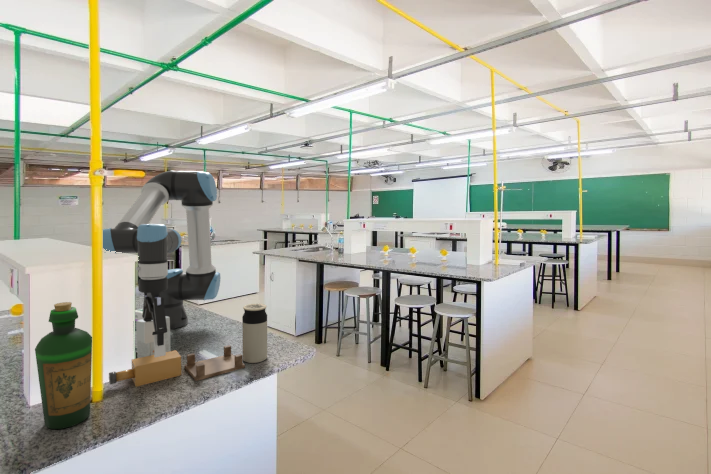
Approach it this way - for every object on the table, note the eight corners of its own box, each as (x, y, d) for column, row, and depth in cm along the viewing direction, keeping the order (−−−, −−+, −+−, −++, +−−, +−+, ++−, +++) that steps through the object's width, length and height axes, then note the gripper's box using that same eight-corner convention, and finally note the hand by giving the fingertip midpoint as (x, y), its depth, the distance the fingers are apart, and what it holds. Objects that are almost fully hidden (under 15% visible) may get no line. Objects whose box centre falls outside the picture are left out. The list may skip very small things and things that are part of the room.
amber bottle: (176, 368, 117) (175, 350, 117) (181, 375, 113) (181, 356, 112) (108, 385, 106) (107, 364, 105) (111, 393, 101) (110, 372, 101)
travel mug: (258, 365, 120) (258, 310, 119) (237, 361, 123) (237, 307, 122) (271, 356, 128) (271, 304, 126) (252, 352, 130) (252, 302, 129)
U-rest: (195, 381, 109) (195, 367, 108) (184, 367, 117) (184, 354, 117) (244, 367, 118) (244, 354, 118) (231, 356, 127) (231, 344, 127)
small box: (157, 350, 131) (156, 314, 130) (171, 353, 128) (170, 316, 127) (136, 359, 123) (135, 320, 122) (150, 362, 121) (149, 323, 120)
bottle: (65, 436, 82) (59, 312, 80) (26, 430, 84) (19, 308, 82) (106, 411, 92) (102, 299, 90) (71, 405, 95) (66, 297, 92)
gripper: (130, 272, 116) (132, 339, 117) (147, 285, 96) (149, 365, 98) (157, 270, 120) (158, 335, 122) (178, 282, 101) (179, 359, 103)
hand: (154, 348), depth 110 cm, fingers open, 13 cm apart
